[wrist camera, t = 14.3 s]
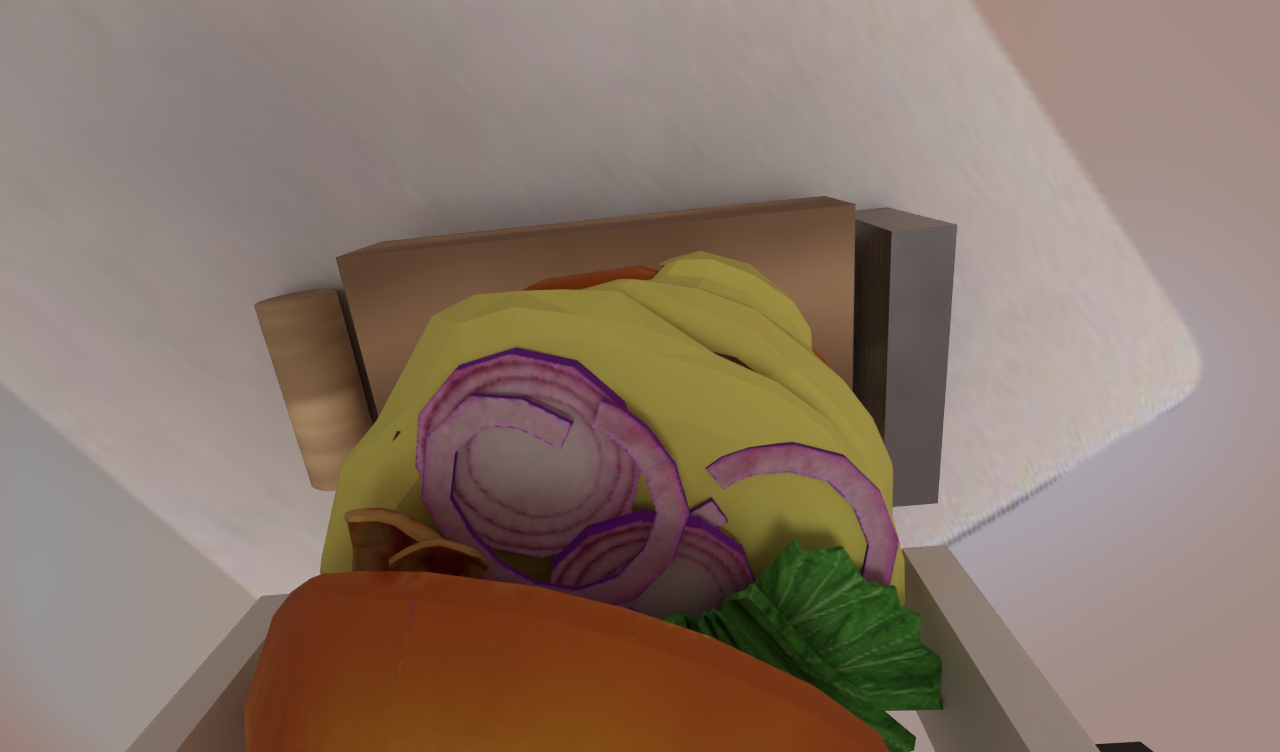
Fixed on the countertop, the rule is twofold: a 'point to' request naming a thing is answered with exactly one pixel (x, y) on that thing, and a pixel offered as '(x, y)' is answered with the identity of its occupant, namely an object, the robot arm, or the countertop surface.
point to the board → (519, 257)
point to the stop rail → (904, 340)
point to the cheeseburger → (606, 539)
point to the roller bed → (316, 378)
